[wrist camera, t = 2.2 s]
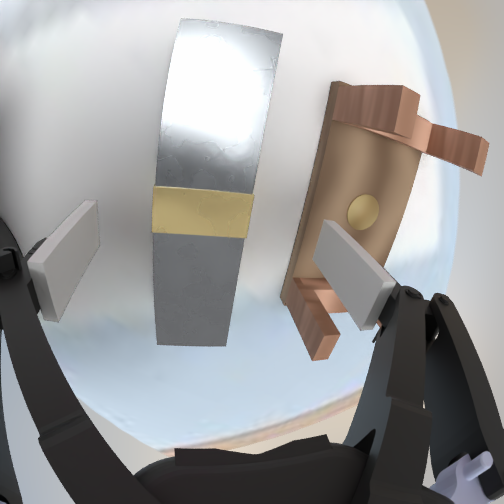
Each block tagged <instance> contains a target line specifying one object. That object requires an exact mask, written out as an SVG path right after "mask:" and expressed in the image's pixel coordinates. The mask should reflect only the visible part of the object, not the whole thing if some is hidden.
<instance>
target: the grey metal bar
mask: <svg viewBox="0 0 504 504" xmlns="http://www.w3.org/2000/svg"><path fill="white" fill-rule="evenodd" d="M282 37H283V34H281V33H277V32H273V31H268V30H264V29H259V28H254V27H249V26H244V25H238V24H231V23H225V22H217V21H208V20H198V19H184V18H181V20H180V24H179V28H178V32H177V36H176V40H175V45H174V50H173V54H172V59H171V64H170V70H169V75H168V81H167V87H166V93H165V99H164V106H163V113H162V121H161V129H160V137H159V147H158V157H157V169H156V183H155V185H154V187H153V205H152V232H153V280H154V307H155V324H156V338H157V345H174V346H226V343H227V337H228V331H229V325H230V319H231V313H232V307H233V302H234V296H235V290H236V284H237V278H238V273H239V267H240V261H241V256H242V250H243V244H244V239H245V238H247V232H248V227H249V221H250V216H251V210H252V205H253V199H254V194H253V189H254V183H255V178H256V172H257V167H258V161H259V156H260V151H261V145H262V140H263V135H264V129H265V124H266V119H267V113H268V108H269V103H270V98H271V93H272V87H273V82H274V77H275V72H276V67H277V62H278V57H279V52H280V47H281V42H282Z"/></svg>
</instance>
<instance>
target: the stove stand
mask: <svg viewBox="0 0 504 504" xmlns="http://www.w3.org/2000/svg"><path fill="white" fill-rule="evenodd" d="M419 100H420V95H419V94H418V93H416V92H414V91H412V90H411V89H409V88H407V87H405V86H403V85H357V86H352V85H349V84H347V83H344V82H341V81H336V82H331V88H330V93H329V98H328V103H327V108H326V113H325V117H324V122H323V127H322V132H321V136H320V141H319V145H318V150H317V154H316V159H315V163H314V167H313V172H312V176H311V180H310V184H309V189H308V193H307V197H306V201H305V205H304V209H303V213H302V217H301V221H300V225H299V229H298V233H297V236H296V240H295V244H294V248H293V252H292V255H291V259H290V263H289V266H288V270H287V274H286V277H285V281H284V285H283V288H282V292H281V295H280V298H281V300H282V302H283V304H284V306H287V307H288V309H289V311H290V313H291V316H292V318H293V320H294V322H295V324H296V327H297V329H298V331H299V333H300V335H301V337H302V340H303V342H304V344H305V346H306V348H307V351H308V353H309V355H310V357H311V360H312V361H316V360H325V359H328V358H329V356H330V354H331V352H332V350H333V348H334V346H335V344H336V342H337V340H338V338H339V336H340V333H339V331H338V329H337V328H336V326H335V324H334V322H333V321H332V319H331V317H330V316H329V314H328V313H341V312H348V311H347V310H346V308H345V306H344V305H343V303H342V302H341V300H340V299H339V297H338V296H337V295H336V293H335V292H334V290H333V289H332V287H331V286H330V284H329V283H328V281H327V280H326V278H325V277H324V275H323V274H322V273H321V271H320V270H319V268H318V267H317V265H316V264H315V262H314V261H313V260H312V259H313V255H314V252H315V249H316V245H317V242H318V239H319V235H320V232H321V228H322V225H323V221H324V220H331V221H335V222H336V223H337V224H338V225H340V226H341V227H342V228H343V229H344V230H345V231H346V232H347V233H348V234H349V235H350V236H351V237H352V238H353V239H354V240H355V241H356V242H357V243H358V244H359V245H361V246H362V247H363V248H364V249H365V250H366V251H367V252H368V253H369V254H370V255H371V256H372V257H373V258H374V259H375V260H376V261H377V262H378V263H379V264H380V265H381V266H382V267H384V265H385V263H386V260H387V258H388V255H389V253H390V250H391V248H392V245H393V242H394V240H395V237H396V234H397V232H398V229H399V226H400V223H401V220H402V218H403V215H404V212H405V209H406V206H407V203H408V199H409V196H410V193H411V190H412V186H413V183H414V180H415V176H416V173H417V169H418V165H419V162H420V158H421V154H422V153H425V154H428V155H431V156H434V157H436V158H439V159H442V160H444V161H447V162H449V163H452V164H454V165H457V166H459V167H462V168H464V169H466V170H469V171H471V172H473V173H476V174H478V175H480V176H482V172H483V169H484V165H485V160H486V156H487V152H488V147H489V143H488V142H487V141H486V140H485V139H483V138H482V137H479V136H477V135H473V134H470V133H467V132H463V131H460V130H456V129H452V128H449V127H445V126H441V125H436V124H432V123H431V122H429V121H428V120H426V119H424V118H422V117H420V116H419V115H417V110H418V105H419ZM376 323H377V324H378V325H379V327H381V325H382V324H381V323H380V321H379V320H377V322H376Z"/></svg>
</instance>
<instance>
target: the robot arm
mask: <svg viewBox="0 0 504 504" xmlns="http://www.w3.org/2000/svg"><path fill="white" fill-rule="evenodd" d="M99 246H100V241H99V227H98V206H97V201H96V200H85V201H84V202H83V203H82V204H81V205H80V206H79V207H78V208H76V209H75V210H74V211H73V212H72V213H71V214H70V215H69V216H68V217H67V218H66V219H65V220H64V221H63V222H62V223H61V224H60V225H59V227H58V228H57V229H56V230H55V231H54V232H53V233H52V234H51V235H50V236H49V237H48V238H44V239H42V240H41V241H39V242H37V243H36V244H35V246H34V247H33V248H32V249H31V250H30V251H29V252H28V254H26V256H25V257H24V258H23V257H22V255H21V252H20V250H19V247H18V245H17V243H16V241H15V239H14V237H13V236H12V234H11V232H10V231H9V229H8V228H7V226H6V225H5V224H4V222H3V221H2V220H1V219H0V504H23V502H22V497H21V493H20V490H19V486H18V482H17V479H16V475H15V471H14V468H13V463H12V459H11V455H10V451H9V445H8V440H7V434H6V428H5V421H4V413H3V404H2V391H1V334H2V333H1V332H2V330H4V334H5V338H6V342H7V346H8V350H9V354H10V358H11V361H12V364H13V368H14V370H15V374H16V377H17V380H18V382H19V385H20V388H21V391H22V394H23V396H24V399H25V401H26V404H27V407H28V409H29V411H30V413H31V416H32V418H33V421H34V423H35V425H36V427H37V429H38V432H39V434H40V437H39V438H38V440H39V444H40V446H41V448H42V450H43V452H44V454H45V456H46V458H47V460H48V461H49V463H50V465H51V467H52V468H53V470H54V472H55V473H56V475H57V477H58V478H59V480H60V482H61V483H62V485H63V486H64V488H65V489H66V491H67V492H68V494H69V495H70V497H71V498H72V499H73V501H74V502H75V504H489V503H491V502H493V501H495V500H496V499H498V498H500V497H501V496H503V495H504V429H503V427H502V423H501V420H500V416H499V413H498V409H497V406H496V403H495V400H494V397H493V393H492V390H491V387H490V385H489V382H488V380H487V376H486V374H485V371H484V368H483V366H482V363H481V361H480V359H479V356H478V354H477V352H476V349H475V347H474V344H473V342H472V340H471V338H470V336H469V333H468V331H467V329H466V327H465V325H464V323H463V321H462V319H461V317H460V315H459V313H458V311H457V309H456V307H455V305H454V303H453V302H452V301H451V300H450V299H449V297H448V296H446V295H444V294H441V293H435V294H434V295H433V297H432V299H431V301H429V300H424V298H423V296H422V294H421V293H420V292H419V291H417V290H416V289H414V288H412V287H409V286H401V285H400V284H399V283H398V282H397V281H396V280H395V279H394V278H393V277H392V276H391V275H389V273H388V272H387V271H386V270H385V269H384V268H383V267H382V266H381V265H380V264H379V263H378V262H377V261H376V260H375V259H374V258H373V257H372V256H371V255H370V254H369V253H368V252H367V251H366V250H365V249H364V248H363V247H362V246H361V245H359V244H358V243H357V242H356V241H355V240H354V239H353V238H352V237H351V236H350V235H349V234H348V233H347V232H346V231H345V230H344V229H343V228H342V227H341V226H340V225H338V224H337V223H336V222H335V221H331V220H324V221H323V225H322V228H321V232H320V235H319V239H318V242H317V245H316V249H315V252H314V255H313V259H312V260H313V261H314V262H315V264H316V265H317V267H318V268H319V270H320V271H321V273H322V274H323V275H324V277H325V278H326V280H327V281H328V283H329V284H330V286H331V287H332V289H333V290H334V292H335V293H336V295H337V296H338V297H339V299H340V300H341V302H342V303H343V305H344V306H345V308H346V310H347V311H348V313H349V314H350V316H351V317H352V319H353V320H354V322H355V323H356V325H357V326H358V328H359V329H360V331H362V330H372V329H373V328H374V326H375V324H376V322H377V320H379V321H380V323H381V324H382V325H381V327H380V329H379V330H378V332H377V334H376V336H375V338H374V339H373V341H372V342H373V343H374V342H375V341H376V343H375V347H374V351H373V355H372V359H371V363H370V367H369V370H368V374H367V377H366V381H365V384H364V387H363V391H362V394H361V397H360V400H359V403H358V406H357V409H356V412H355V415H354V418H353V421H352V423H351V426H350V429H349V432H348V434H347V436H346V439H345V440H344V442H343V444H339V443H330V442H329V440H328V437H327V435H326V434H325V435H321V436H316V437H311V438H306V439H300V440H294V441H292V442H289V443H287V444H285V445H282V446H279V447H277V448H274V449H272V450H269V451H266V452H264V453H261V454H246V453H239V452H233V451H226V450H220V449H215V448H213V449H181V448H174V449H175V457H170V458H165V459H162V460H159V461H156V462H154V463H152V464H149V465H148V466H146V467H144V468H142V469H141V470H140V471H138V472H137V473H136V474H135V475H134V476H133V475H132V474H131V472H130V471H129V470H128V469H127V468H126V466H125V465H124V464H123V463H122V462H121V461H120V459H119V458H118V457H117V455H116V454H115V453H114V452H113V450H112V449H111V448H110V446H109V445H108V444H107V442H106V441H105V440H104V438H103V437H102V436H101V434H100V433H99V431H98V430H97V428H96V427H95V426H94V424H93V423H92V421H91V420H90V418H89V417H88V415H87V414H86V412H85V411H84V409H83V408H82V406H81V405H80V403H79V401H78V399H77V398H76V396H75V394H74V393H73V391H72V389H71V387H70V385H69V384H68V382H67V380H66V378H65V376H64V374H63V372H62V370H61V368H60V366H59V364H58V362H57V360H56V358H55V356H54V354H53V352H52V350H51V347H50V345H49V343H48V341H47V338H46V336H45V334H44V331H43V329H42V326H41V324H40V321H39V319H38V316H37V314H38V312H39V310H40V309H41V312H42V315H43V318H44V320H48V321H53V322H59V321H60V319H61V317H62V315H63V313H64V311H65V308H66V306H67V304H68V302H69V300H70V298H71V296H72V294H73V292H74V291H75V289H76V287H77V285H78V283H79V281H80V279H81V277H82V276H83V274H84V272H85V270H86V268H87V267H88V265H89V263H90V261H91V260H92V258H93V256H94V254H95V253H96V251H97V249H98V248H99ZM438 332H439V333H438ZM437 334H438V336H437ZM436 336H437V338H436V339H435V337H436ZM423 401H424V404H425V409H424V408H423ZM429 445H430V455H431V465H432V470H433V475H434V478H435V482H436V483H435V484H433V485H432V486H431V487H430V488H427V487H425V486H423V485H422V484H423V479H424V474H425V469H426V464H427V457H428V451H429Z"/></svg>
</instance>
